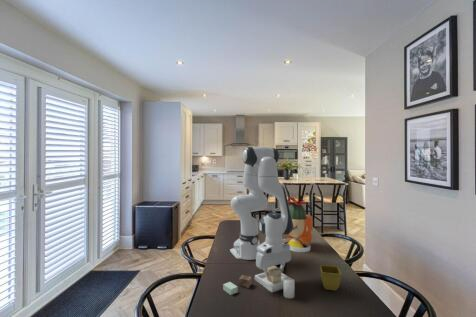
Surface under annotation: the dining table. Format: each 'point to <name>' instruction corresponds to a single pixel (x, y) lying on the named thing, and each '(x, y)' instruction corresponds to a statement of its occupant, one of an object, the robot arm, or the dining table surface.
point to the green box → (230, 288)
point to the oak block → (274, 274)
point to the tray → (267, 284)
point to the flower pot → (330, 277)
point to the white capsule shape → (288, 288)
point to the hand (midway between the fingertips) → (274, 273)
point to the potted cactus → (299, 227)
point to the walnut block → (245, 281)
